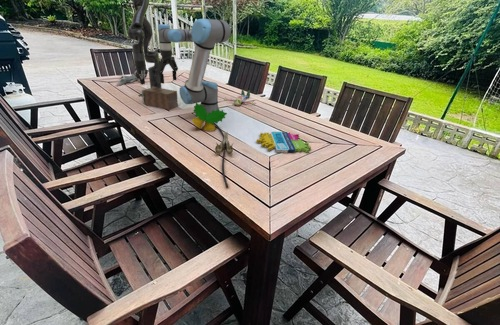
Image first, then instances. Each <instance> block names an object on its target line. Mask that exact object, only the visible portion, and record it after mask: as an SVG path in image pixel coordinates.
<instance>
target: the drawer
mask: <svg viewBox="0 0 500 325" xmlns="http://www.w3.org/2000/svg"><path fill="white" fill-rule="evenodd" d="M149 88H150V87H149ZM149 88H147V89H149ZM144 90H145V89H142V90H141V94H138V97H142V103H143V104H146V102H145V94H144Z"/></svg>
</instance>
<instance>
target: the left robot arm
mask: <svg viewBox="0 0 500 325" xmlns="http://www.w3.org/2000/svg"><path fill="white" fill-rule="evenodd" d="M132 4H133V8H134V11H135V12H134V14H133V15H132V20H131V24H130V25H129V27H128V28H127V31H126V32H127V34H126V35H127V38H128V39H130V40H132V41H138V42H136V43H132V45H131V48H132V57H133V65H134V67H135V71H133V74H134V75H135V76H136V77H137V79H140V81H139V84H140V85H143V86H144V85H145V84H146V82H145V81H146V80H145V78H149V88H152V87H157V88H162V83H160V77H159V73H157V67H158V63H159V58H160V55H159V54H160V53H159V52H158V51H155V50H154V51H153V50H150V49H149V46H150V42H151V41H152V38H153V35H154V33H153V28H152V25H151V22H150V21H149V20H148V19H147V17H146V14H147V11H148V9H149V6H150V0H132ZM146 63H148V64H153V65H152V66H149V67H148V69H146V66H147V64H146ZM147 76H148V77H147Z"/></svg>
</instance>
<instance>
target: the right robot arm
mask: <svg viewBox="0 0 500 325" xmlns="http://www.w3.org/2000/svg"><path fill="white" fill-rule="evenodd" d="M157 29H158V30H157V32H158V41H159V49H160V50H159V52H160V56H161V57H159V63H158V67H157V73H159V77H160V83H161V84H163V85H164V84H165V77H164V71H165V68H166V67H167V65H169V66H170V68H171V70H172V71H171V72H172V80H173V81H177V72H178V70H179V67H178V65H177V61H176V58H175V56H173V51H172V49H173V48H172V43H175V44H177V43H193V44H194V45H195V48H194V51H193V55H192V61H191V66H190V70H189V74H188V79H186V80H185V82H184V85H182V86H180V87H179V89H178V90H179V91H178V92H179V96H180V99H181V101H182V102H183V103H184V104H185V105H193V104H196V102H197V103H198V104H201V106H204V109H206V112H208V113H211V112H212V110H214V111H216V110H217V109H219V111H221V110H220V108H219V102H218V99H219V98H218V97H219V94H218V93H219V88H218V84H217V83H216V82H214V81H210V80H204V77H205V73H206V70H207V65H208V62H209V58H210V55H211V51H213V50H215V46H216V44H222V43H225V42H227V41H228V40H229V39H230V38H231V34H232V29H231V26H230V24H229V23H228V22H226V21H225V20H223V19H212V18H210V19H209V18H198V19H196V20H194V22H193V23H192V25H191V28H189V29H188V28H187V29H185V28H182V29H181V28H171V26H170V25H169V24H165V23H164V24H163V23H162V24H158V25H157ZM208 113H207V115H208ZM213 124H214V126H215V127H216V128H217V129H218V130H219V131H220V133H221V135H222V138H223V140H224V133H223V130H222V129H221V128H220V127H219V126H218V124H217V123H213ZM222 152H223V154H222V160H221V169H222V170H221V171H222V178H223V180H224V183H225V186H226V188H229V184H228V182H227V179H226V174H225V157H226V156H225V155H226V149H225V148H224V149H223V151H222Z"/></svg>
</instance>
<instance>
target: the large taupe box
mask: <svg viewBox="0 0 500 325" xmlns="http://www.w3.org/2000/svg"><path fill="white" fill-rule="evenodd" d="M143 90H144V94H145V102H146V103H145V106H148V107H153V108H159V109H162V110H168V111H171V110H172V109H174V108H176V107H179V102H178V90H173V89H168V88H162V87H161V88H157V87H152V88H150V87H149V89H148V88H145V89H143Z"/></svg>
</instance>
